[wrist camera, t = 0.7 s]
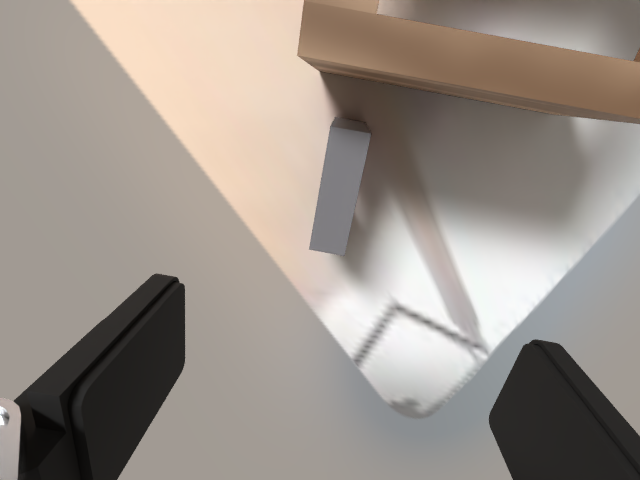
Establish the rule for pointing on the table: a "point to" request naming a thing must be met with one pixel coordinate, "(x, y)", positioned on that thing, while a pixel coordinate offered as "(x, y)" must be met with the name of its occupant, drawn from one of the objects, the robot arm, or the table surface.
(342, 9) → the stand
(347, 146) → the grey piece
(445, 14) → the table surface
